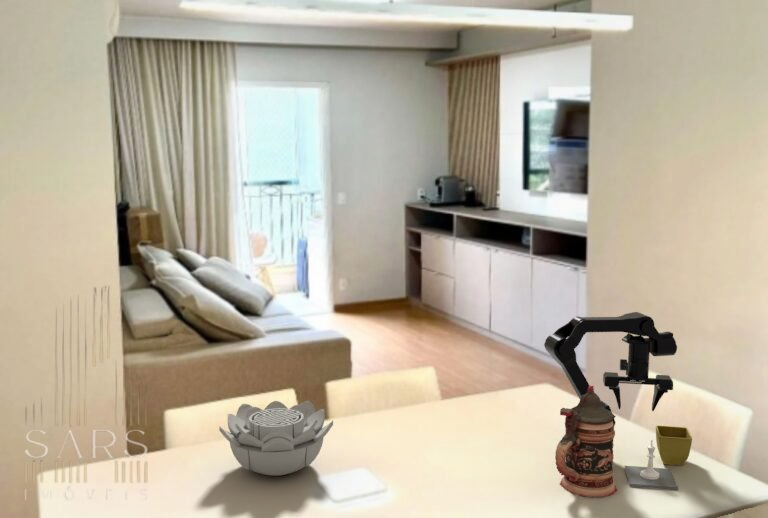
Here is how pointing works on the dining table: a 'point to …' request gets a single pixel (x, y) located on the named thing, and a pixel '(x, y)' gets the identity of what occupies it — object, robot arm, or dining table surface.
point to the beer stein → (587, 448)
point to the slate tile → (662, 482)
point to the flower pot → (673, 444)
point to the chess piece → (650, 465)
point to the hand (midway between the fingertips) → (636, 409)
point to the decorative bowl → (276, 437)
